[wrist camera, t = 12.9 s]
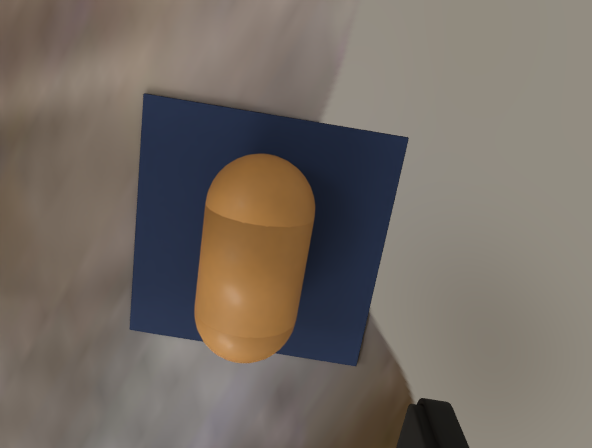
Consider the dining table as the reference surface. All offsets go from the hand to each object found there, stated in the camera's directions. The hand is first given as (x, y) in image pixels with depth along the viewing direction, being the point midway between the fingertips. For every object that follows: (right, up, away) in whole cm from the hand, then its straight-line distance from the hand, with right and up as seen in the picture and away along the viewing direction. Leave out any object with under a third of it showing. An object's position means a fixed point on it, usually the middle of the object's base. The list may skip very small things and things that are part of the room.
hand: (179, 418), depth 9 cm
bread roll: (+1, +3, +13) cm, 13 cm away
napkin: (+1, +3, +13) cm, 13 cm away
